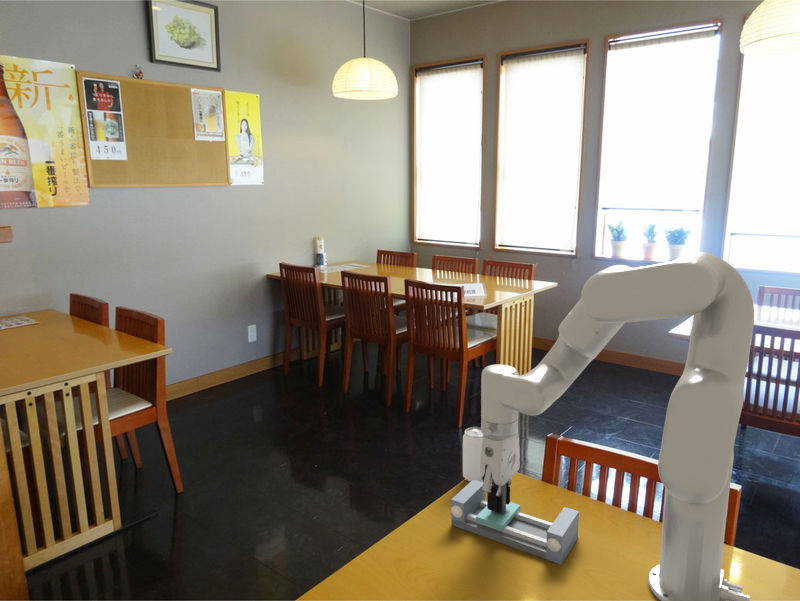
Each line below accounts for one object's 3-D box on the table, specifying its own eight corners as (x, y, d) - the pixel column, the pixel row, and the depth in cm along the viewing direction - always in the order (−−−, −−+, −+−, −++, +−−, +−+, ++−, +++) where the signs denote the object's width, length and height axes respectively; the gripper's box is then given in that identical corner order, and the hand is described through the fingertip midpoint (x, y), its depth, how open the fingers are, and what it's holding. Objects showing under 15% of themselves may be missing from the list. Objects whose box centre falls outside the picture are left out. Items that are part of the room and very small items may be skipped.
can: (488, 470, 144) (488, 426, 141) (489, 483, 138) (490, 438, 135) (462, 470, 145) (462, 426, 142) (462, 483, 138) (462, 437, 136)
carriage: (520, 509, 122) (520, 475, 120) (502, 530, 115) (503, 494, 113) (494, 501, 125) (495, 467, 124) (476, 521, 118) (476, 485, 116)
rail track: (577, 537, 116) (578, 511, 115) (560, 565, 108) (561, 537, 106) (473, 503, 129) (473, 479, 128) (450, 525, 121) (450, 500, 120)
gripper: (499, 444, 107) (498, 531, 111) (532, 415, 120) (530, 494, 124) (464, 435, 111) (464, 519, 115) (499, 408, 125) (499, 484, 128)
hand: (498, 505), depth 120 cm, fingers closed on carriage, 3 cm apart
